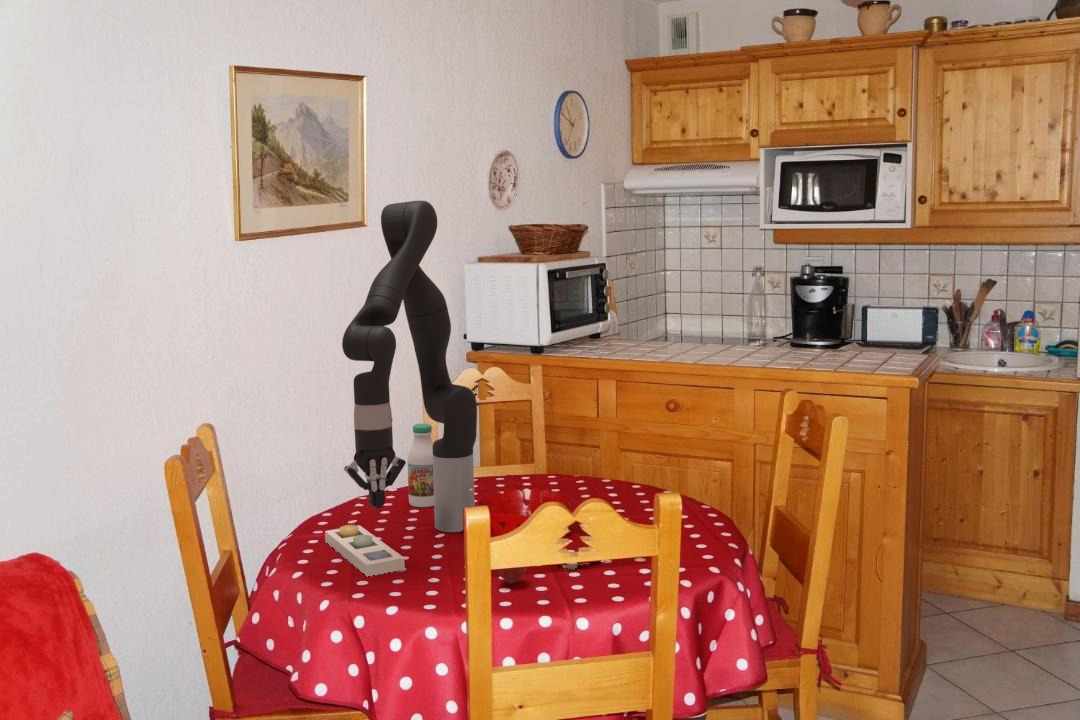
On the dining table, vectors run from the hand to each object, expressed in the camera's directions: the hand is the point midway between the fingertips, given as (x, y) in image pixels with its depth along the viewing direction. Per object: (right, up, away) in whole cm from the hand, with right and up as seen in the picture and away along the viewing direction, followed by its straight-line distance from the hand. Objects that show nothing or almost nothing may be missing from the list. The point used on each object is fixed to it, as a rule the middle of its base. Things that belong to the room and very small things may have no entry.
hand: (377, 507), depth 214 cm
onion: (+28, -14, -9) cm, 32 cm away
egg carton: (+41, -12, +4) cm, 43 cm away
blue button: (0, -12, +2) cm, 12 cm away
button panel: (-4, -11, +9) cm, 15 cm away
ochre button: (-9, -9, +16) cm, 20 cm away
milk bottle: (+4, -6, +47) cm, 48 cm away
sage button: (-4, -10, +9) cm, 14 cm away
